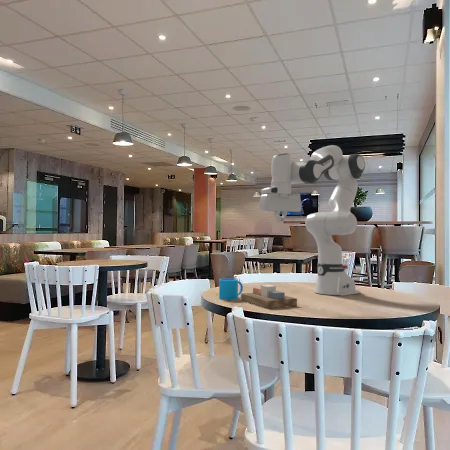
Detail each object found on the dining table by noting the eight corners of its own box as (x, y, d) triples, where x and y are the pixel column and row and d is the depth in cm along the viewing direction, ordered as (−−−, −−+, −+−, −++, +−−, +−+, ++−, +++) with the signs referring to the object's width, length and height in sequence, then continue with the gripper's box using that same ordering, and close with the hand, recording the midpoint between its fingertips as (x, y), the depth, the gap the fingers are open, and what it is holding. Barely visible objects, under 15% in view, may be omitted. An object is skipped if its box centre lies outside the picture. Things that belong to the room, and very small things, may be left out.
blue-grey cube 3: (277, 302, 174) (278, 290, 174) (284, 303, 170) (284, 292, 170) (268, 302, 172) (269, 291, 172) (275, 304, 168) (275, 293, 168)
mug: (226, 300, 182) (226, 281, 182) (215, 297, 188) (215, 279, 188) (248, 297, 189) (248, 279, 189) (236, 295, 196) (237, 277, 196)
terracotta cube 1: (261, 297, 185) (261, 287, 185) (267, 299, 181) (267, 288, 181) (253, 298, 182) (253, 287, 182) (258, 299, 179) (258, 289, 179)
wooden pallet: (268, 298, 188) (268, 291, 188) (296, 306, 171) (296, 298, 171) (241, 300, 182) (241, 293, 182) (267, 308, 164) (267, 300, 164)
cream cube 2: (269, 295, 179) (269, 284, 179) (275, 297, 175) (275, 286, 175) (260, 296, 177) (260, 285, 177) (266, 297, 173) (266, 286, 173)
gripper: (295, 191, 195) (295, 222, 195) (257, 189, 186) (257, 221, 186) (304, 190, 190) (304, 222, 190) (266, 188, 180) (265, 221, 180)
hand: (280, 221), depth 188 cm, fingers closed
